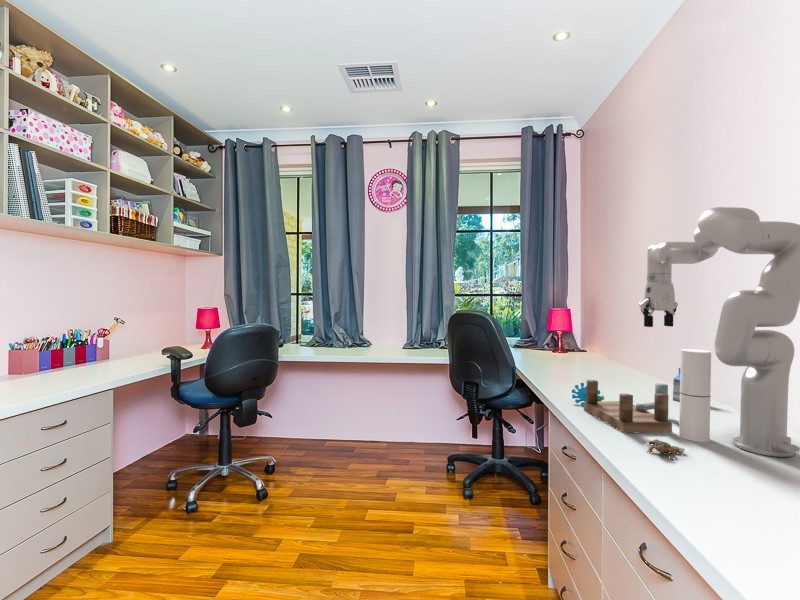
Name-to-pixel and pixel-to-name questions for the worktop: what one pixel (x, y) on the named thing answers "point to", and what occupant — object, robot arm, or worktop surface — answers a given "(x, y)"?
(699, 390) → the cylindrical container
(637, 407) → the swing leg
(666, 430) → the stool seat
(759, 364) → the robot arm
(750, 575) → the worktop surface
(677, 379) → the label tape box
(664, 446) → the frog figurine
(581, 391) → the blue spiky piece
